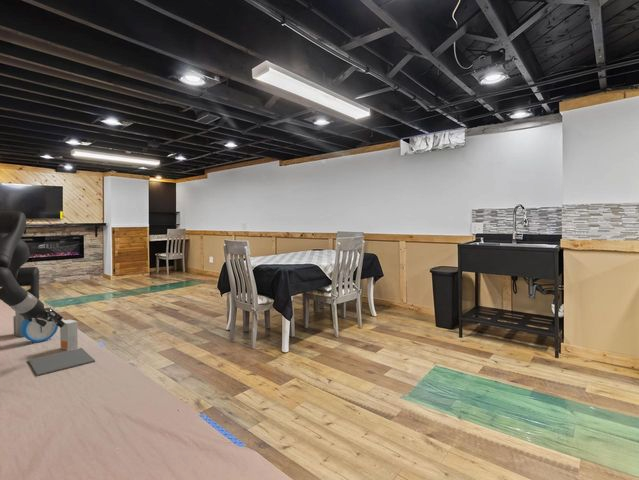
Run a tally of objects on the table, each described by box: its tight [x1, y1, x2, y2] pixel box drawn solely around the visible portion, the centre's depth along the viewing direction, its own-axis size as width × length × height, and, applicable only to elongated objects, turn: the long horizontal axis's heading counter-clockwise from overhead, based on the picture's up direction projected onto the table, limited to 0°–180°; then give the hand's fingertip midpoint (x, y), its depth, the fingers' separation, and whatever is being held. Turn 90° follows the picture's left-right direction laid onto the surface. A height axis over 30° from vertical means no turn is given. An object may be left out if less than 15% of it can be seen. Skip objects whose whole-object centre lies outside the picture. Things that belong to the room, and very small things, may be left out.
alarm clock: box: [20, 307, 59, 344], centre depth 162 cm, size 13×6×15 cm, turn 143°
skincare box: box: [59, 319, 79, 351], centre depth 152 cm, size 6×4×12 cm
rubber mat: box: [28, 347, 96, 377], centre depth 138 cm, size 20×18×1 cm
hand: (53, 325), depth 145 cm, fingers open, 8 cm apart
